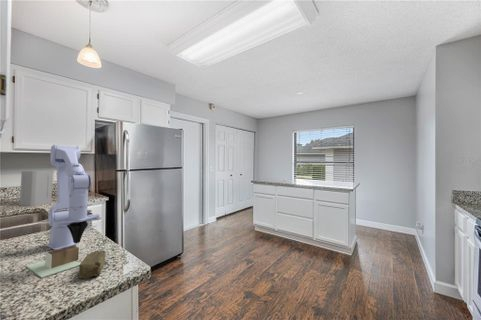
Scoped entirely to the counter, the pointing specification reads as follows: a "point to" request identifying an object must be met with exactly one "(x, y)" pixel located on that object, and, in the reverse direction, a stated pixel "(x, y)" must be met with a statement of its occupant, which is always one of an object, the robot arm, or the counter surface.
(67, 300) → the counter surface
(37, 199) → the tall grey box
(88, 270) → the stone block
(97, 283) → the counter surface
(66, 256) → the walnut block
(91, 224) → the french press
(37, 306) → the counter surface
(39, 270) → the sage mat
